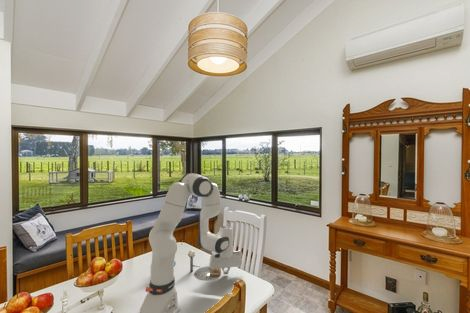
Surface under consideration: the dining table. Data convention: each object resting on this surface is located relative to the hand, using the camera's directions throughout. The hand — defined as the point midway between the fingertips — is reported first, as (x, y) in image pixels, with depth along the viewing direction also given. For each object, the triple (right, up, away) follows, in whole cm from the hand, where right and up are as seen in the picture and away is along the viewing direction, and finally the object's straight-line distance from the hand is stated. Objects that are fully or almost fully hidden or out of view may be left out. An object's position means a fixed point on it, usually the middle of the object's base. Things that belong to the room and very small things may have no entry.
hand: (225, 273), depth 143 cm
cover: (-7, -1, +2) cm, 7 cm away
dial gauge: (-21, -2, +4) cm, 21 cm away
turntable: (-11, -2, +4) cm, 12 cm away
